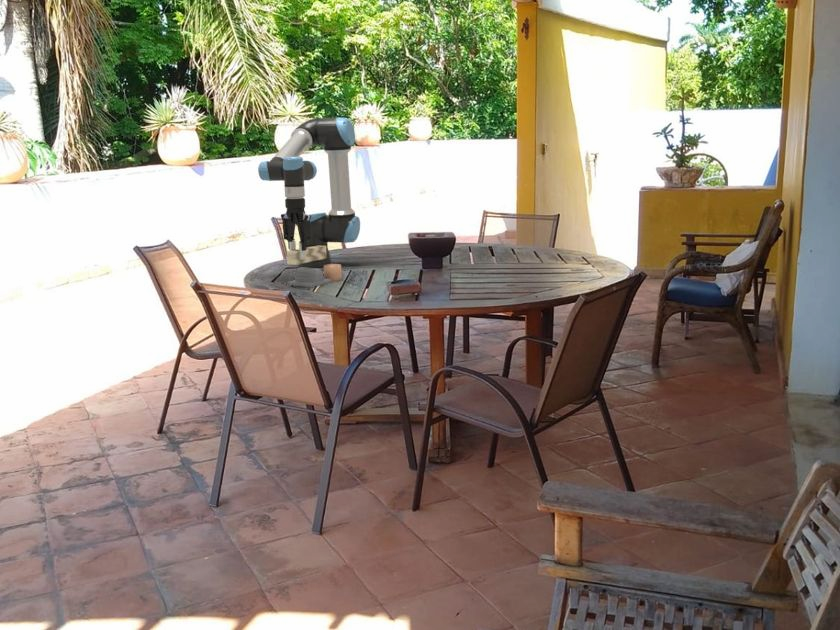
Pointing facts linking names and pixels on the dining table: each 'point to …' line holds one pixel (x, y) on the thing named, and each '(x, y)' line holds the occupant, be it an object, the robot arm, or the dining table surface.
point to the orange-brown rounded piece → (332, 272)
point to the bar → (311, 255)
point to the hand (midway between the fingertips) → (297, 258)
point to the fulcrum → (309, 277)
